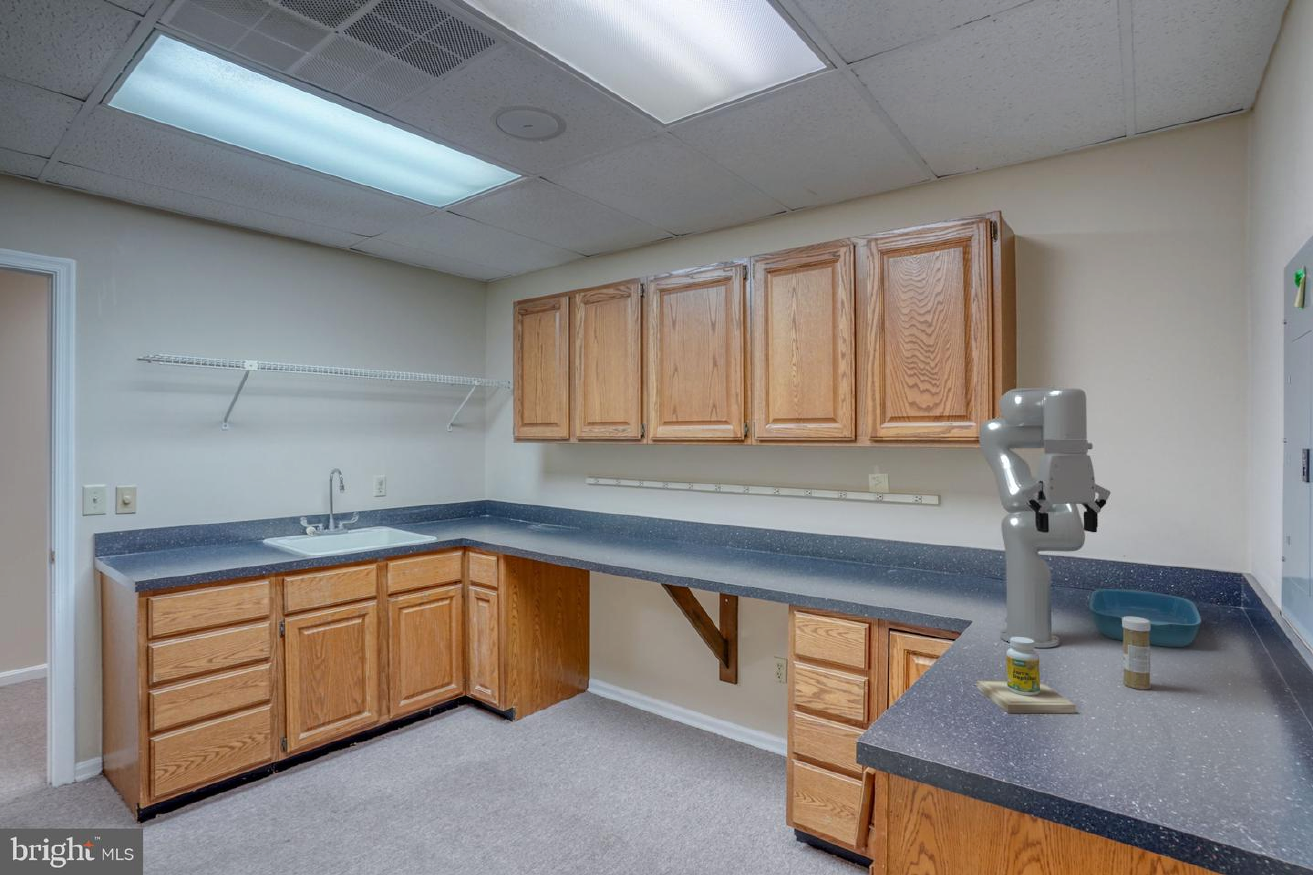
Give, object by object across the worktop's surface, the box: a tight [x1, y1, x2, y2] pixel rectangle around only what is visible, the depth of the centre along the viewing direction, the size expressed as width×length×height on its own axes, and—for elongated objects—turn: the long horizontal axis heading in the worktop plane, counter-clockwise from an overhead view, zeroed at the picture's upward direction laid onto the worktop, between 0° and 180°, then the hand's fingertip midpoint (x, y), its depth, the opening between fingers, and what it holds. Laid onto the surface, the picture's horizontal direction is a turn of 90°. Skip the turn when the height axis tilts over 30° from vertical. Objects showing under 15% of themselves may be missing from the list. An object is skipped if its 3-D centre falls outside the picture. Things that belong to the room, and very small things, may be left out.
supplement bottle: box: [1006, 637, 1041, 696], centre depth 123 cm, size 6×5×10 cm
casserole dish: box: [1089, 588, 1202, 648], centre depth 168 cm, size 37×22×7 cm, turn 145°
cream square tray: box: [976, 679, 1076, 714], centre depth 123 cm, size 12×12×2 cm
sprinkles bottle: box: [1122, 616, 1152, 690], centre depth 130 cm, size 5×5×14 cm
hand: (1066, 531), depth 134 cm, fingers open, 9 cm apart
